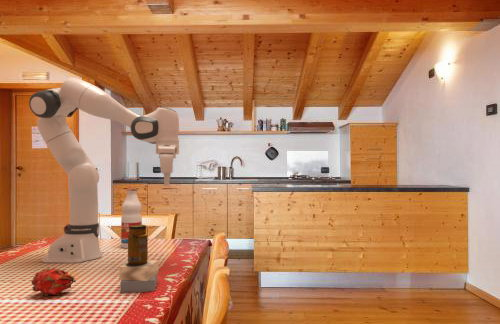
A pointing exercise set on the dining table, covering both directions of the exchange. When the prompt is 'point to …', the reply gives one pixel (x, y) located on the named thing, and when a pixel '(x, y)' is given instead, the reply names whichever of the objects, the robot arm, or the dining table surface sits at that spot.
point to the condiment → (137, 247)
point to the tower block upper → (138, 272)
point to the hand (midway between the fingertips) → (167, 185)
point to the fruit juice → (130, 215)
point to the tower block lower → (138, 285)
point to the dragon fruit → (52, 281)
